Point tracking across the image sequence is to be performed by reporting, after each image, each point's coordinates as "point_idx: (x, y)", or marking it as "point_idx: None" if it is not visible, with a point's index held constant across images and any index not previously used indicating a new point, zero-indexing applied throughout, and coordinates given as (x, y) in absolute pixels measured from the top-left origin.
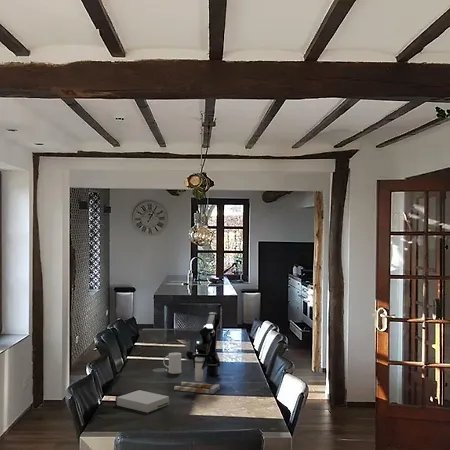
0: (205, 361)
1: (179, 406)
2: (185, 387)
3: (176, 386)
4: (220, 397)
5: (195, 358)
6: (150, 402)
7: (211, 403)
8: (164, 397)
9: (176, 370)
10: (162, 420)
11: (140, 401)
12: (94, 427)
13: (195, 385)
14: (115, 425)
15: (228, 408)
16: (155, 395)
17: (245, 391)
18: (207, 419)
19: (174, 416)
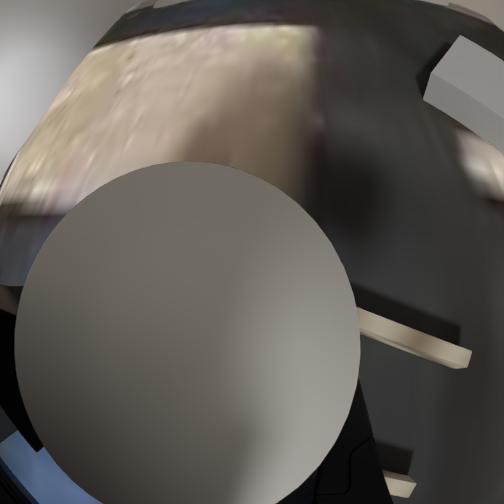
0: None
1: (370, 74)
2: (391, 324)
3: (458, 354)
4: None
5: (335, 255)
6: (460, 42)
7: (226, 96)
8: (443, 67)
9: None
10: (386, 14)
11: (495, 59)
12: (499, 32)
13: None
14: (472, 25)
15: (175, 65)
16: (490, 97)
17: None
18: (262, 11)
19: (362, 23)
